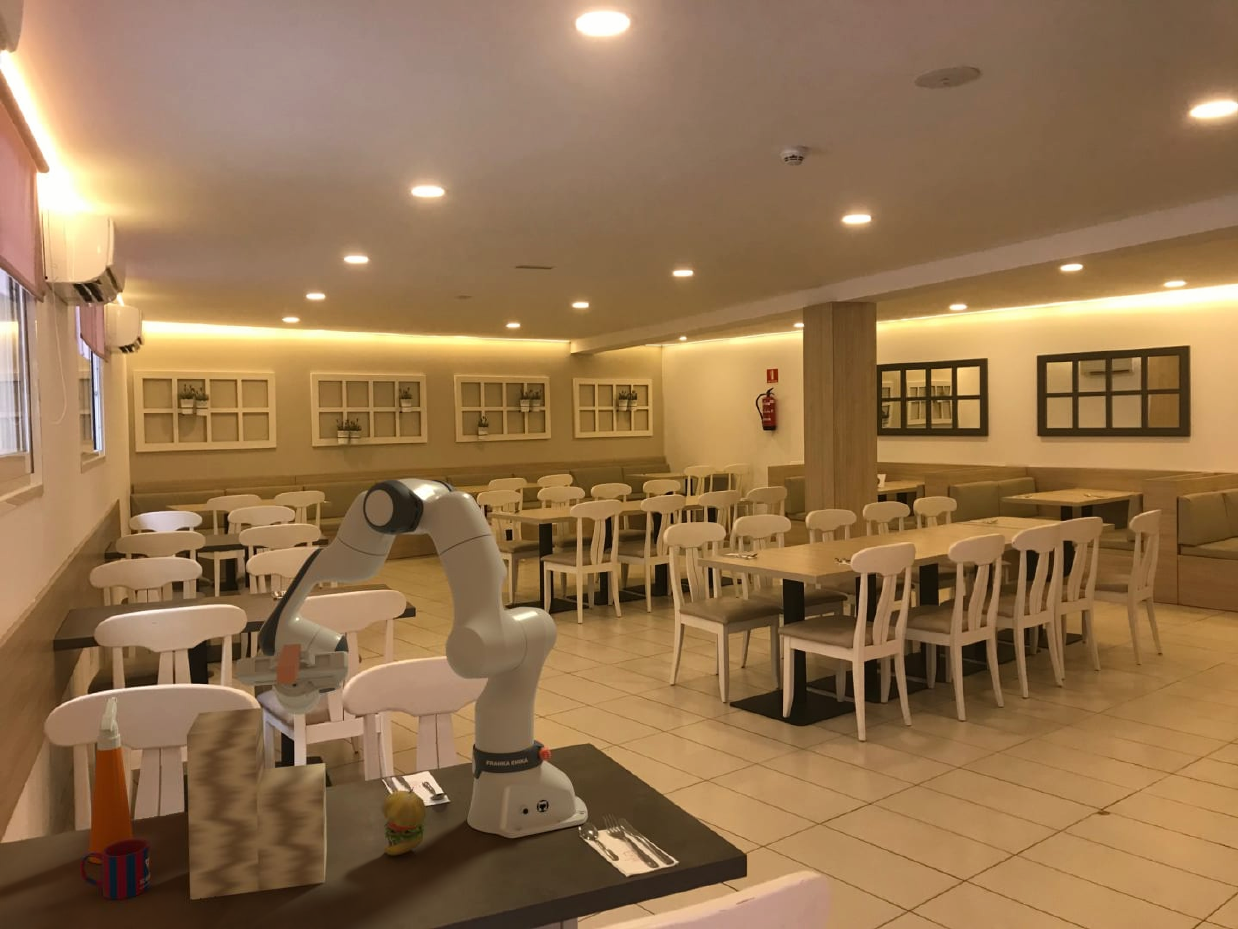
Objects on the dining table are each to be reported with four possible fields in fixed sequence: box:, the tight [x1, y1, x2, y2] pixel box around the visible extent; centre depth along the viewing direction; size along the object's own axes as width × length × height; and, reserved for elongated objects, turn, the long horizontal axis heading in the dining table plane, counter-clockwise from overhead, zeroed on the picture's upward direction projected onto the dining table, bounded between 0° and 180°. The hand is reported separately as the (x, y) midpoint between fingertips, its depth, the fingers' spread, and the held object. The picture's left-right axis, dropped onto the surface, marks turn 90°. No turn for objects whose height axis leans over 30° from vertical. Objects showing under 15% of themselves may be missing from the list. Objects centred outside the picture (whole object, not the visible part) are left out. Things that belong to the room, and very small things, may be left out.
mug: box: [79, 838, 151, 900], centre depth 150 cm, size 7×10×7 cm
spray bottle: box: [88, 696, 134, 865], centre depth 164 cm, size 7×11×26 cm, turn 21°
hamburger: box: [381, 786, 427, 856], centre depth 162 cm, size 8×7×12 cm
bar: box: [276, 644, 301, 684], centre depth 170 cm, size 3×18×3 cm, turn 16°
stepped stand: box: [186, 707, 328, 900], centre depth 155 cm, size 20×12×26 cm, turn 106°
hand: (291, 655), depth 174 cm, fingers closed on bar, 3 cm apart
